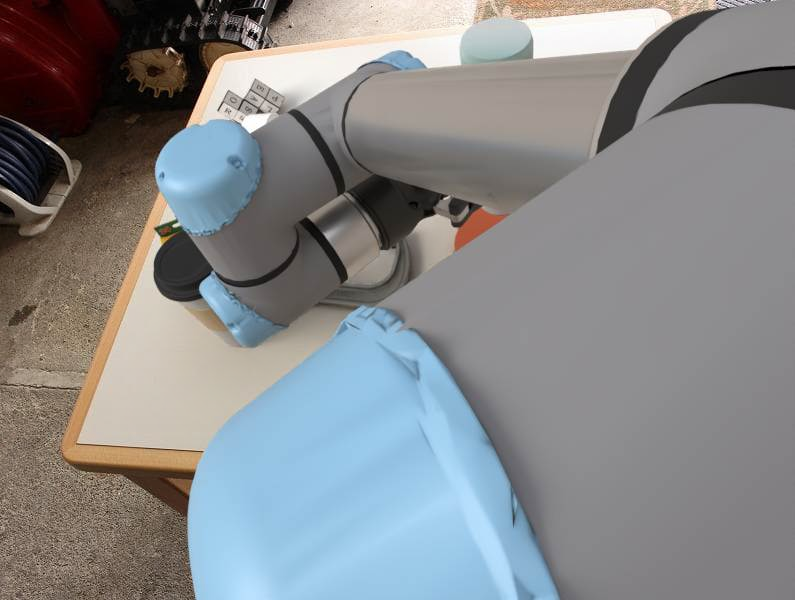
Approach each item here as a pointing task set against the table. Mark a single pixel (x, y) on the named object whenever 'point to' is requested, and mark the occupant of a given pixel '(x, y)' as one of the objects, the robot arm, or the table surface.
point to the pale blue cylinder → (496, 48)
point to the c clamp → (376, 292)
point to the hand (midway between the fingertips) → (535, 93)
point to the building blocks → (250, 102)
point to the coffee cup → (188, 281)
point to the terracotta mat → (476, 227)
